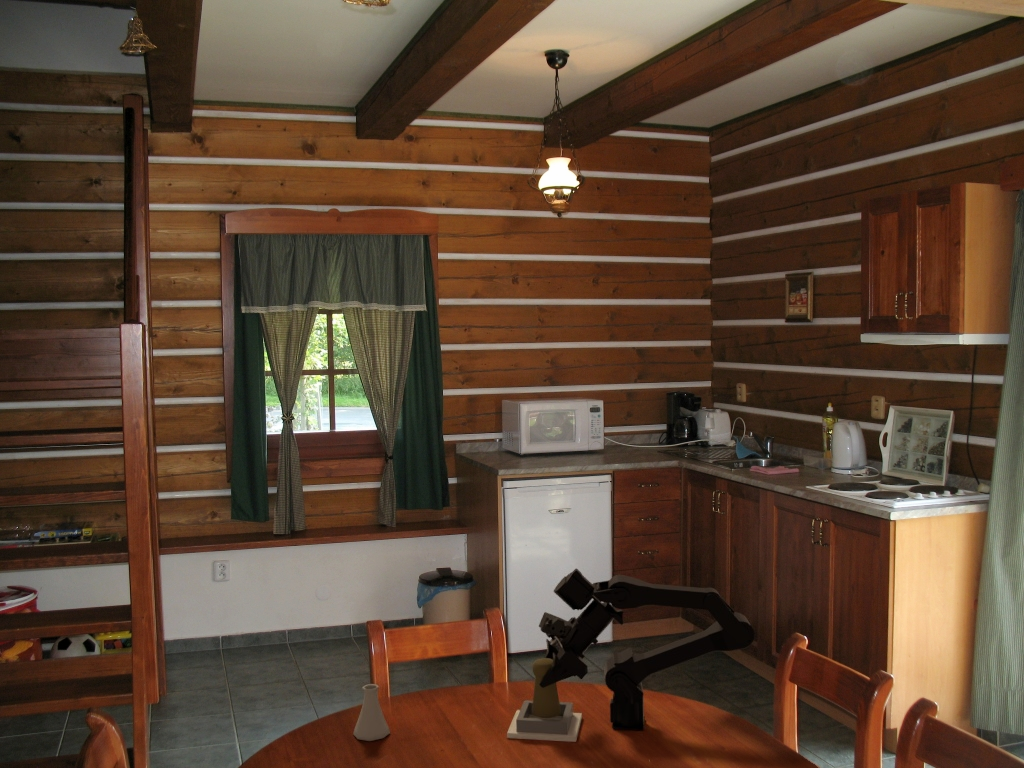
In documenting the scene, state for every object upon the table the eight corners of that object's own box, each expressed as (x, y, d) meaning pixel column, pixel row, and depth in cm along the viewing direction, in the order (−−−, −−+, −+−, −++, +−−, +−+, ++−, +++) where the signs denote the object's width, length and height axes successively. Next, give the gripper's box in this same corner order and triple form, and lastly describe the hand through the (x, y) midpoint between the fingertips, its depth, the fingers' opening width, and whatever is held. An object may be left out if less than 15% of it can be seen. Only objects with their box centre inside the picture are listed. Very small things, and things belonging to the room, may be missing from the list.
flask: (346, 735, 190) (345, 687, 190) (374, 724, 195) (373, 677, 195) (368, 745, 185) (367, 696, 185) (396, 733, 190) (395, 686, 190)
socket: (581, 717, 197) (581, 701, 196) (575, 741, 185) (575, 724, 185) (517, 714, 199) (516, 698, 199) (507, 737, 187) (506, 720, 187)
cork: (561, 717, 189) (559, 664, 188) (531, 718, 189) (530, 665, 188) (560, 706, 195) (558, 654, 194) (531, 706, 195) (530, 655, 194)
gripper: (554, 588, 201) (505, 642, 200) (569, 612, 182) (516, 672, 181) (590, 621, 202) (542, 675, 201) (610, 649, 183) (557, 708, 182)
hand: (538, 681), depth 191 cm, fingers closed on cork, 5 cm apart
